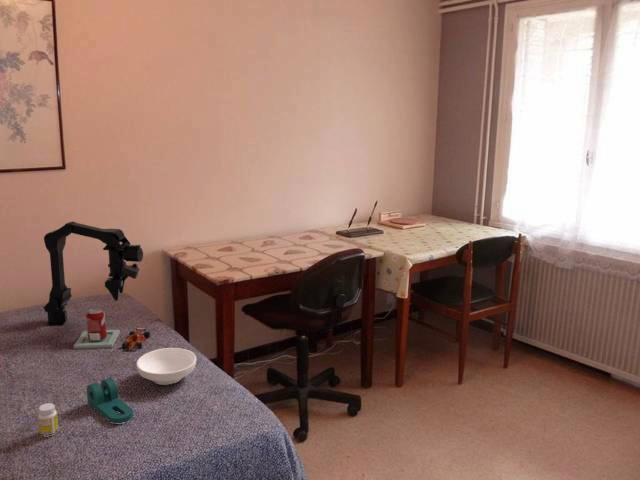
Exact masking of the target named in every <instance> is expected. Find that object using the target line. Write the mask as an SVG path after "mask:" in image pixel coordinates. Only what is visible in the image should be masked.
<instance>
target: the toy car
mask: <svg viewBox="0 0 640 480" xmlns="http://www.w3.org/2000/svg"><path fill="white" fill-rule="evenodd" d="M143 331H144V332H143ZM128 334H129V336H127V338H126V339H125V342H122V343H121V348H122V349H123V350H122V352H126V353H127V352H128V353H130V352H131V353H134V352H137V349H134V347H138V349H142V348H143V343H144V342H145V341H146V339H149V338H150V337H151V332H150V331H147V327H140V326H139V327H138V326H136V328H135V331H129V333H128ZM126 347H127V348H126Z"/></svg>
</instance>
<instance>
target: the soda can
mask: <svg viewBox="0 0 640 480" xmlns="http://www.w3.org/2000/svg"><path fill="white" fill-rule="evenodd" d="M103 309H104V308H101V307H94V308H90V309H88V311H87V314H86V315H85V316H86V327H87V328H86V331H88V340H90V341H93V342H99V341H102V340H104V339H105V338H106V337H107V334H106V330H107V324H106V322H107V321H106V313H105V312H104V310H103Z"/></svg>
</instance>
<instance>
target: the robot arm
mask: <svg viewBox="0 0 640 480" xmlns="http://www.w3.org/2000/svg"><path fill="white" fill-rule="evenodd" d="M71 234H74V235H77V236H83V237H88V238H91V239H96V240H99V241H100V242H101V243H103V244H105V246H104V247H103V248H102V250H103V251H108V253H107V254H108V264H107V267H108V268H109V273H108V277H107V279H106V280H105V282H104V287H105V288H106V290H107V291H108V292H109V293H110V294H111V297H112V298H113V300H114V301H116V302H118V301H119V295H120V294H123V292H124V287H125V282H126V280H127V278H131V279H133V280H135V279H136V280H137V277H138V274H139V272H140V267H139V266H138V264H137V263H141V262H142V261H143V259H144V251H143V248H141V244H131V241H129V239H128V238H127V237H126V236H125V233H124V232H123V230H122V229H120V228H100V227H96V226H92V225H86V224H84V223H78V222H76V221H69V222H66V223H65V224H64V225H63V226H60V227H59V228H58V229H54V230H52V231H50V232H48V233H46V234H45V235H44V236H43V242H44V246H45V248H46V250H47V251H48V253H49V259H50V260H49V261H50V274H51V284H52V285H51V286H52V287H51V289H50V292H49V295H48V302H47V303H46V304H45V305H44V306H43V309H44V312H45V313H47V323H46V325H47V326H63V325H65V323H66V322H67V320H68V318H69V317H68V311H67V310H66V306H67V304H68V303H69V302H70V301H71V298H72V297H73V296H72V288H71V287H67V285H66V280H65V279H66V278H65V268H64V267H65V266H64V264H65V263H64V254H63V253H64V252H63V251H64V249H65V246H66V243H67V242H66V241H67V238H68V237H69V236H70V235H71ZM127 262H133V264H130V265H128V264H127Z"/></svg>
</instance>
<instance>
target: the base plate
mask: <svg viewBox="0 0 640 480" xmlns="http://www.w3.org/2000/svg"><path fill="white" fill-rule="evenodd" d="M120 330H121V329H106V334H107V337H106V338H105V339H104V340H102V341H99V342H93V341H90V340H88V331H87V330H83V331H82V332H81V334H80V336H79V337H78V339H76V342H75V343H74V344H73V350H76V349H77V350H80V349H82V350H83V349H84V350H85V349H106V348H107V349H111V348H113V347H114V345H115V343H116V341H117V339H118V337H119V335H120V333H121V331H120Z"/></svg>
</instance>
